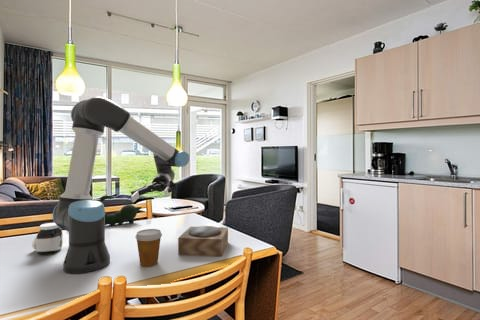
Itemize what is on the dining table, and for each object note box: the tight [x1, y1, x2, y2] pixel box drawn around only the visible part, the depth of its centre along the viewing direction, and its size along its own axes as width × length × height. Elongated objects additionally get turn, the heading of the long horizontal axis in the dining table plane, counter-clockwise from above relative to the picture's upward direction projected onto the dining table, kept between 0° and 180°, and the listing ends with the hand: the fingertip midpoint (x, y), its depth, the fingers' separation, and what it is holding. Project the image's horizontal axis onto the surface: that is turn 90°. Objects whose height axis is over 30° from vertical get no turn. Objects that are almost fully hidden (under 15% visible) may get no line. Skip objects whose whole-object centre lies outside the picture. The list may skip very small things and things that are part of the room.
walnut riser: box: [177, 225, 229, 257], centre depth 120 cm, size 18×18×8 cm
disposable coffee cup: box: [135, 228, 163, 268], centre depth 103 cm, size 10×10×12 cm
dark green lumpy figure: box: [96, 194, 143, 227], centre depth 162 cm, size 9×19×25 cm
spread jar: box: [31, 222, 64, 256], centre depth 116 cm, size 12×11×12 cm
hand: (149, 196), depth 112 cm, fingers open, 13 cm apart
